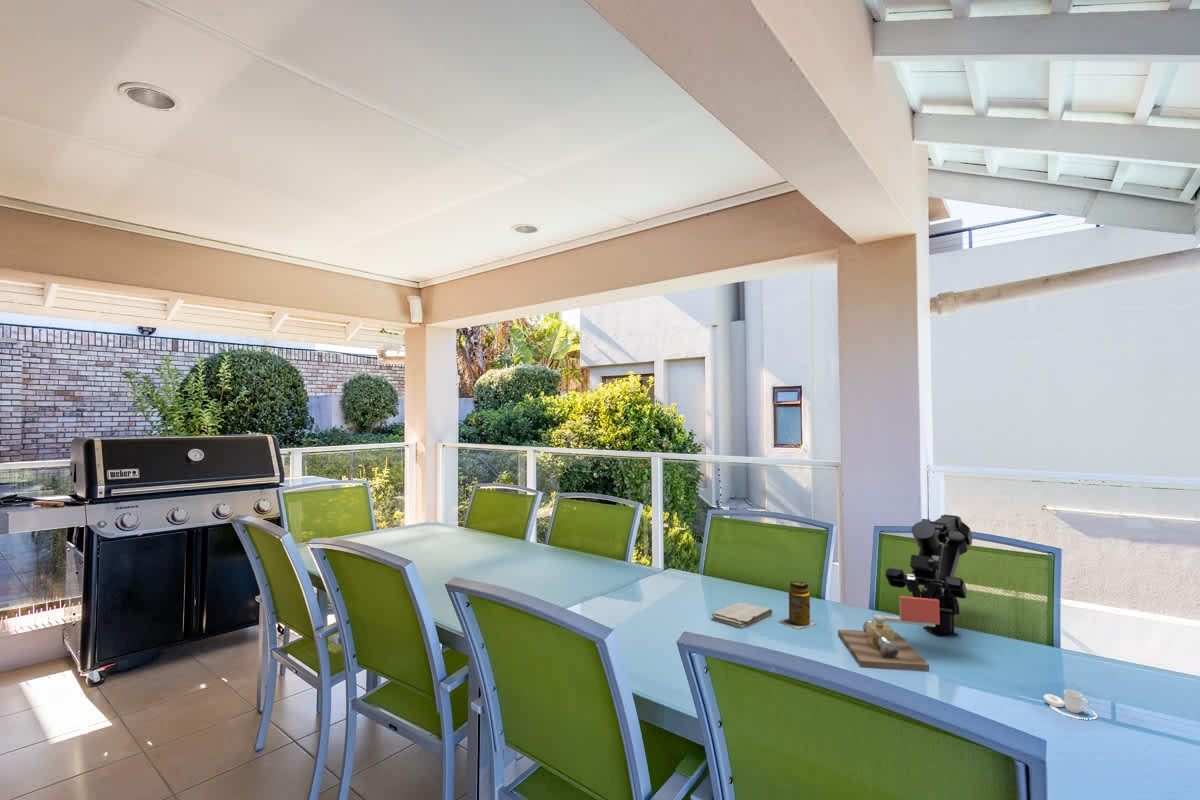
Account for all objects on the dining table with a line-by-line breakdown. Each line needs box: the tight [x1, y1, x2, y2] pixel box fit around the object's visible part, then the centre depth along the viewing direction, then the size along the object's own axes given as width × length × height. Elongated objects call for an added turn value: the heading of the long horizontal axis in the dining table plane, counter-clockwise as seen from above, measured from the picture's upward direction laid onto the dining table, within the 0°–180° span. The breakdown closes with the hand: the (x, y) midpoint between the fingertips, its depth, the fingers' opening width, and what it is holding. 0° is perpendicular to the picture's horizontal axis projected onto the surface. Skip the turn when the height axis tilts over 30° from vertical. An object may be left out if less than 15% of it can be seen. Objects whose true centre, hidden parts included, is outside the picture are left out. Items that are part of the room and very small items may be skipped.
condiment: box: [778, 580, 817, 630], centre depth 177 cm, size 7×8×12 cm
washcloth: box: [711, 602, 773, 629], centre depth 182 cm, size 12×18×3 cm, turn 136°
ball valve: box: [862, 620, 899, 658], centre depth 155 cm, size 16×5×6 cm, turn 171°
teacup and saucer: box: [1043, 689, 1098, 721], centre depth 124 cm, size 9×8×4 cm
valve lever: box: [873, 595, 940, 627], centre depth 153 cm, size 15×3×7 cm, turn 70°
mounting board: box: [837, 629, 930, 672], centre depth 155 cm, size 22×16×2 cm
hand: (919, 610), depth 153 cm, fingers closed
